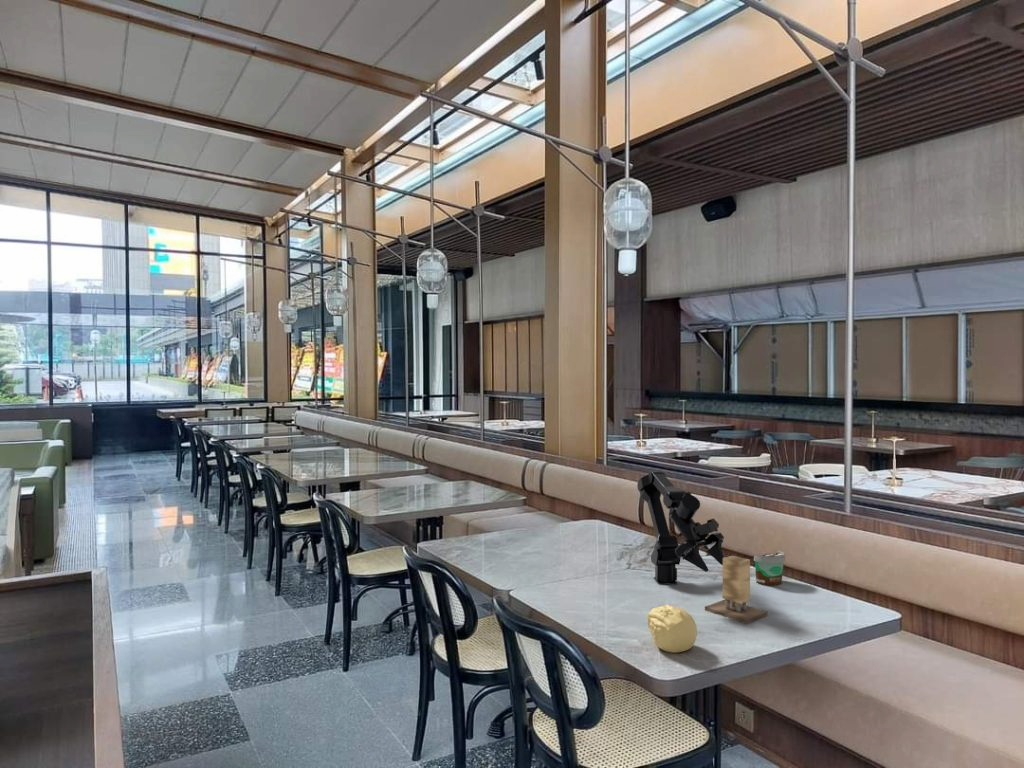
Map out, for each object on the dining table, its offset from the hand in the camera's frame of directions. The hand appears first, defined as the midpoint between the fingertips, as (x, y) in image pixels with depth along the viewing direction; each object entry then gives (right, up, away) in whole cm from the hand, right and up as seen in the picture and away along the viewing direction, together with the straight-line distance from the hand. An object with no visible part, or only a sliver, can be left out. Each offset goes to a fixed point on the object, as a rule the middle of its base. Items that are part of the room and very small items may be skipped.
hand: (716, 568), depth 202 cm
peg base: (+4, -12, -5) cm, 14 cm away
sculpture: (-21, -12, -30) cm, 39 cm away
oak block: (+4, -8, -5) cm, 10 cm away
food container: (+26, -12, +22) cm, 36 cm away
